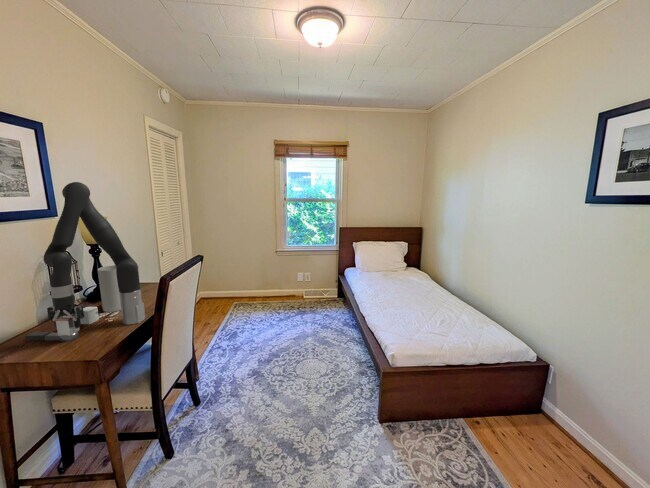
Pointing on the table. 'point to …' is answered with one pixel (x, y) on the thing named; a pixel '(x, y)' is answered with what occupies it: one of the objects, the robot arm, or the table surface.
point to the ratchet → (49, 336)
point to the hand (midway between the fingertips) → (68, 327)
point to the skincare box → (89, 315)
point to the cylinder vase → (109, 289)
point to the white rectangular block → (66, 326)
